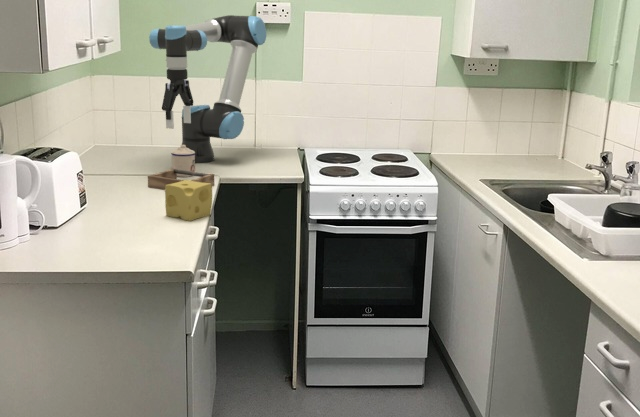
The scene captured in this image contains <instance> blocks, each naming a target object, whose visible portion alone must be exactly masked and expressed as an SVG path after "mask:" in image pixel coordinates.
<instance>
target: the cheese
mask: <svg viewBox="0 0 640 417" xmlns="http://www.w3.org/2000/svg"><path fill="white" fill-rule="evenodd" d="M183 180H184V181H180V182H177V183H173V184H168V185H165V190H164V192H165V193H164V194H165V196H164V197H165V201H164V202H165V205H164V206H165V216H167V217H171V218H178V219H179V218H181V220H183V219H184V221H187V222H191V221H195V220H196V219H200V218H203V217H209V216H210V215H211V212H212V205H213V186H212V185H211V183H201V182H195V181H190V179H189V180H188V179H183Z"/></svg>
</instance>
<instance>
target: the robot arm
mask: <svg viewBox="0 0 640 417" xmlns="http://www.w3.org/2000/svg"><path fill="white" fill-rule="evenodd" d="M148 38H149V44H150V46H151V47H152V48H154V49H157V50H165V58H166V59H165V61H166V62H165V63H166V68H167V69H166V79H167V80H169V82H167V83H165V85H164V86H165V88H164V95H163V100H162V106H161V110H162V111H164V112H165V129H168V130H170V129H171V130H173V129H175V127H174V126H175V123H174V122H175V121H174V110H173V109H174V105H175V101H176V99H177V97H178V96H180V99H181V100H182V103H183V106H182V109H181V110H182V112H181V131H182V132H181V134H182V138H181V139H182V140H181V141H182V142H181V145H186V148H189V149H190V150H193V151H195V164H196V163H199V164H200V163H208V162H209V163H210V162H213V161H214V160H215V153H214V149H213V147H212V144H211V138H216V139H223V140H235V139H236V138H237V137H239V136H240V135H241V133H242V132H243V129H244V125H245V121H244V120H245V118H244V115H243V113H242V109H241V107H240V103H241V99H242V94H243V91H244V87H245V83H246V80H247V75H248V72H249V68H250V64H251V60H252V57H253V54H254V53H256V52H257V51H258V48H259V46H262V45H264V43H266V40H267V27H266V25H265V22H264V20H263V19H262V18H261V17H259V16H253V15H232V14H230V15H223V16H219V17H214V18H209V19H206V20H205V21H204V22H199V23H194V24H189V25H182V24H181V25H180V24H179V25H176V24H175V25H173V24H172V25H171V24H169V25H167V26H165V28H154V29H151V31H150V33H149V37H148ZM208 42H209V43H227V44H230V46H231V47H232V50H231V53H230V56H229V61H228V65H227V67H226V72H225V75H224V79H223V84H222V87H221V90H220V94H219V99H218V100H217V101H215V102H214V103H213V107H212V108H211V106H210V105H209V104H204V105H203V104H199V105H198V104H197V105H194V98H193V94H192V91H191V87H190V81H189V80H188V69H187V68H188V55H187V54H188V53H187V52H193V51H196V52H199V51H203V50H204V49H205V48H206V46H207V45H208Z"/></svg>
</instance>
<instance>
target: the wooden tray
mask: <svg viewBox="0 0 640 417" xmlns="http://www.w3.org/2000/svg"><path fill="white" fill-rule="evenodd" d="M177 174H184V175H191V176H190V177H197V178H193V179H191V180H190V179H189V180H190V181H195V182H201V183H211V185H212V187H213V186H215V174H214V173H205V172H204V173H203V172H196V171H195V172H190V171H183V170H176V169H171V168H169V169H168V170H164V171H161V172H158V173H153V174H150V175H148V176H147V187H148V188H151V189H159V190H163V191H165V185H168V184H173V183H177V182H180V181H184V180H185V179H178V177H177Z"/></svg>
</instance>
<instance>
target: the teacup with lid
mask: <svg viewBox="0 0 640 417" xmlns="http://www.w3.org/2000/svg"><path fill="white" fill-rule="evenodd" d="M170 154H171V168H172V169H176V170H183V171H190V172H196V163H195V151H193V150H190V149H189V148H186V145H182V144H181V145H180V147H178V148H176V149H174V150H172V151H171V152H170ZM190 177H192V176H191V175H184V174H177V178H190Z"/></svg>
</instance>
